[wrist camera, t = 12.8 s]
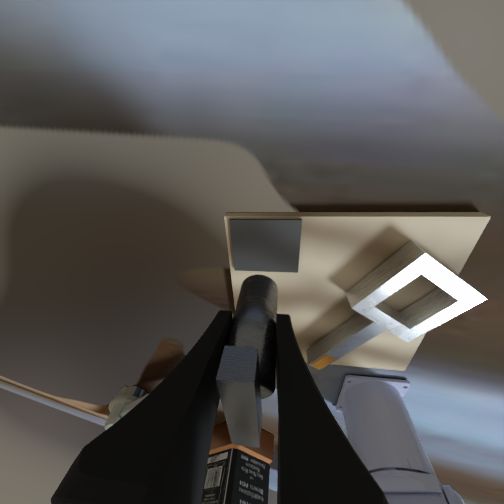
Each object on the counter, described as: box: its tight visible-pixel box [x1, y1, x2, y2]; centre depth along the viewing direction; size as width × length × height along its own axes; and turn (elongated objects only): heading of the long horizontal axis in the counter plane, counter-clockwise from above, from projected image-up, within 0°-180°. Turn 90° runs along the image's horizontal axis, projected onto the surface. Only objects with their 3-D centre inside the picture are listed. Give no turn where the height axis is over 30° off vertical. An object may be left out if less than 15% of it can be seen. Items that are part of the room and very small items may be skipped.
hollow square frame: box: [306, 241, 487, 371], centre depth 21 cm, size 7×16×2 cm, turn 148°
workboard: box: [224, 212, 491, 371], centre depth 22 cm, size 20×20×1 cm
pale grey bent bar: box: [105, 385, 150, 430], centre depth 34 cm, size 5×7×25 cm
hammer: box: [216, 275, 278, 448], centre depth 11 cm, size 5×2×7 cm, turn 3°
